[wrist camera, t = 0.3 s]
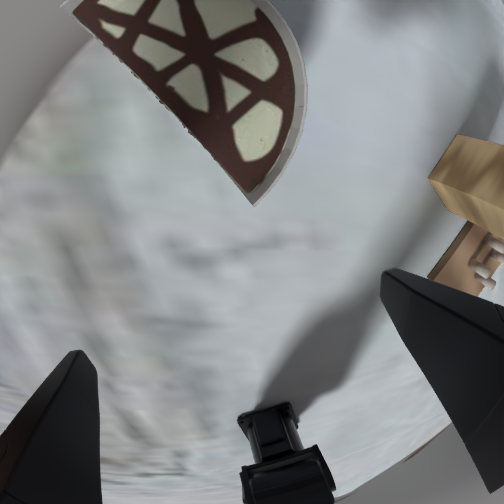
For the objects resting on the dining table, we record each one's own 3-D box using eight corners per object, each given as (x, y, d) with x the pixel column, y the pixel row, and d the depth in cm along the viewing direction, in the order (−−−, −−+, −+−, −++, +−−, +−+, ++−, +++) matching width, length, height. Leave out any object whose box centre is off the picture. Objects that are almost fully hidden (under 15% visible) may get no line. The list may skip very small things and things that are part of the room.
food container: (294, 116, 20) (376, 120, 11) (227, 172, 21) (262, 217, 12) (180, -8, 14) (182, -89, 5) (108, 48, 15) (52, 0, 6)
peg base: (455, 314, 33) (474, 330, 30) (426, 277, 29) (450, 295, 25) (511, 234, 31) (531, 246, 27) (492, 182, 26) (517, 192, 22)
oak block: (448, 210, 26) (539, 261, 15) (427, 178, 24) (533, 224, 13) (475, 168, 25) (566, 205, 14) (457, 134, 23) (560, 163, 12)
